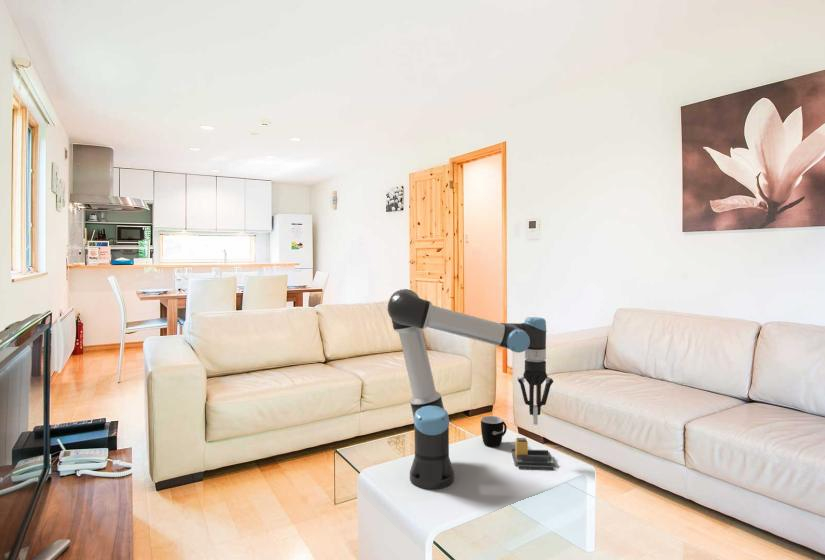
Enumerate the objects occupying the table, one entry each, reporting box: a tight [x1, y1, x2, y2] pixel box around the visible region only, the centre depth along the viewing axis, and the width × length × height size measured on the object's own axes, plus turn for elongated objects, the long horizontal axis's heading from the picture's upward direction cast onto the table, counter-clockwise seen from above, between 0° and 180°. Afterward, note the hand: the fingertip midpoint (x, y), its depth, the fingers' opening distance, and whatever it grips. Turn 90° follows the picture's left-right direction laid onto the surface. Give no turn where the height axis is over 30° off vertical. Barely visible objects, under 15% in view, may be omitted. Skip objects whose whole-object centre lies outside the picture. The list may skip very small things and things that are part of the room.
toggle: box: [514, 437, 529, 458], centre depth 175 cm, size 4×3×7 cm
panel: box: [511, 449, 556, 468], centre depth 174 cm, size 14×10×3 cm
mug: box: [480, 415, 507, 448], centre depth 191 cm, size 12×9×10 cm
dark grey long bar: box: [518, 465, 555, 471], centre depth 168 cm, size 12×1×1 cm, turn 85°
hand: (534, 423), depth 174 cm, fingers closed
